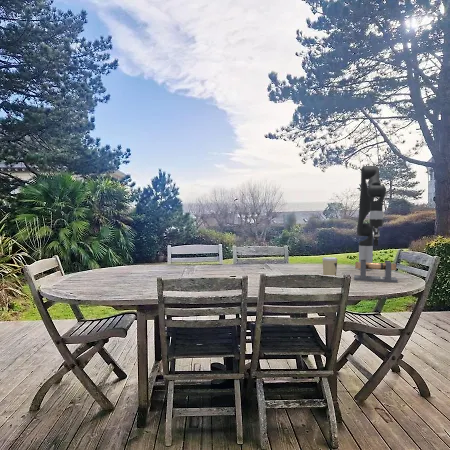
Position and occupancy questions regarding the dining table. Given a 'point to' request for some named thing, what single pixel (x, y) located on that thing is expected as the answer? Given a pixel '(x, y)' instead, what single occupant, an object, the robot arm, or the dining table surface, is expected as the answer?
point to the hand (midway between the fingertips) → (375, 245)
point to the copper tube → (375, 266)
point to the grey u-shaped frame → (375, 278)
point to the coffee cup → (329, 265)
